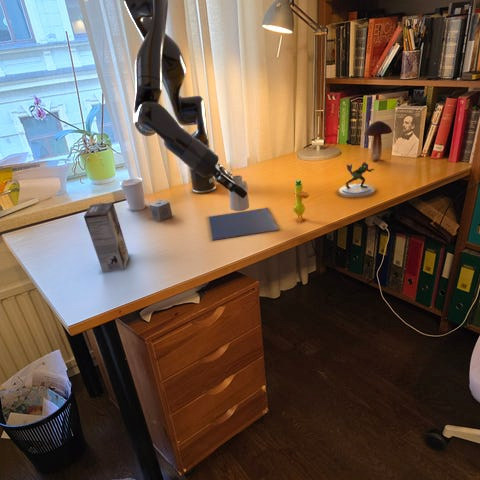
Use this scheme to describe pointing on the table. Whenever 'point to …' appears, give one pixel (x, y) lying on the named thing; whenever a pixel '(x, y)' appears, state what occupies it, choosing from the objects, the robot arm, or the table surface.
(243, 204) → the white vase
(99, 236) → the coffee box
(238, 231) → the paper sheet
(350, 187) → the monster figurine
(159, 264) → the table surface
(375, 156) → the decorative mushroom
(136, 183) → the dixie cup
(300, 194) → the toy figure
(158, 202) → the dice cube
